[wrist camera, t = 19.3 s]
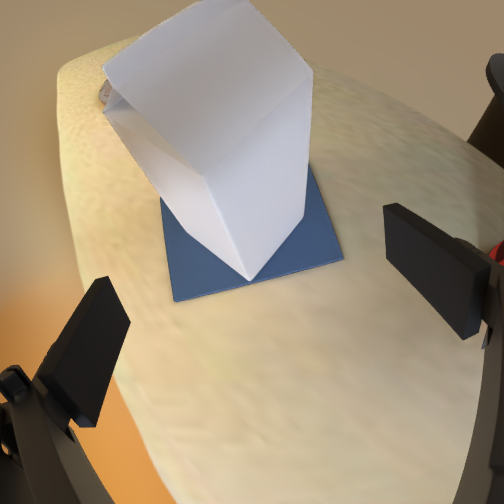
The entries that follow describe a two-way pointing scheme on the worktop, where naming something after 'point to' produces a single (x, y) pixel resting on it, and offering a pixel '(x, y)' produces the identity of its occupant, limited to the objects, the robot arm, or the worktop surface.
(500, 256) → the canned food
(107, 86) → the flatbread
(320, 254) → the slate-blue mat
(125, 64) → the milk carton
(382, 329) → the worktop surface
